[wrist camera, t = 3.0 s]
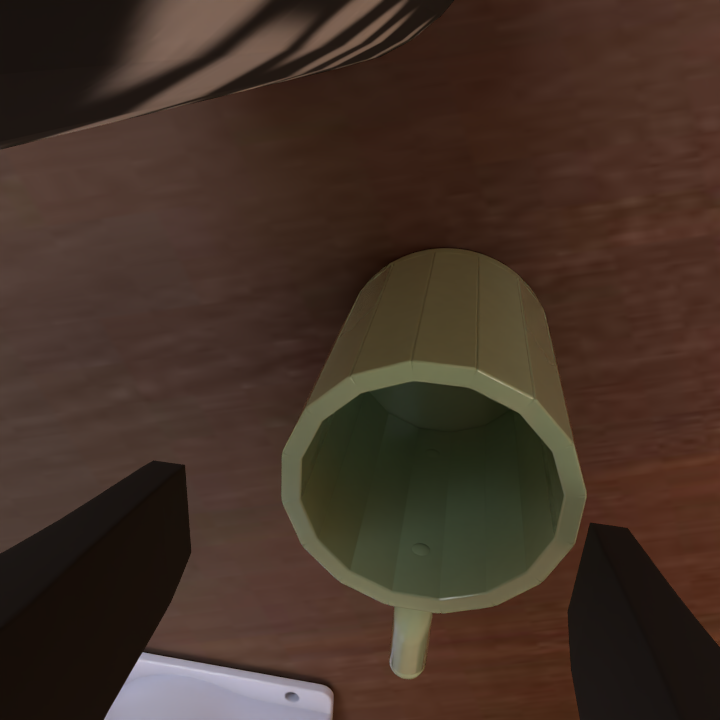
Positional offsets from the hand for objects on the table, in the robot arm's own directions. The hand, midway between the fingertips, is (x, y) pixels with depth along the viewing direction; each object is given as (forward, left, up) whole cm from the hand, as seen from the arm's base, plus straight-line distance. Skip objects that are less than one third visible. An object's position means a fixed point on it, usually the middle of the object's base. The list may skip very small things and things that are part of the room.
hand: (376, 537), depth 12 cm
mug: (-1, +1, -8) cm, 8 cm away
